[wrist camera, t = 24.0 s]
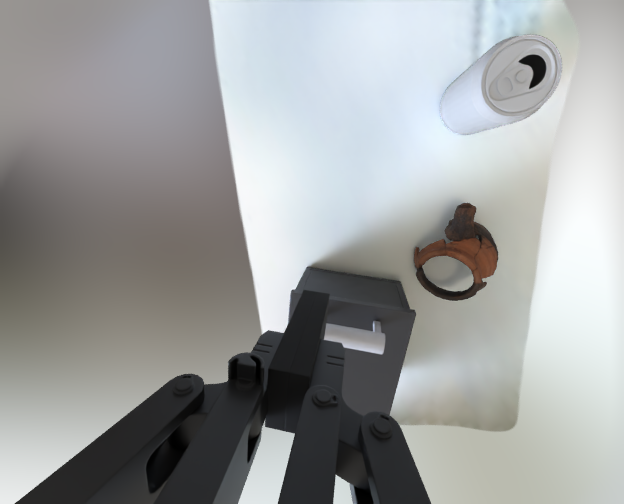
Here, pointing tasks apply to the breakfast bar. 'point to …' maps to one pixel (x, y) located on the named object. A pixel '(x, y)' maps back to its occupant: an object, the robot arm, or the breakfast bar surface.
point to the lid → (367, 349)
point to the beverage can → (502, 85)
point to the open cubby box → (354, 287)
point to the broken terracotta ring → (461, 253)
